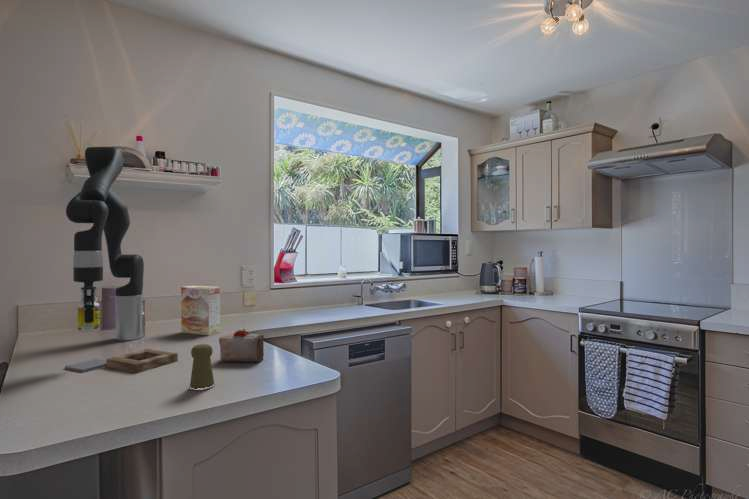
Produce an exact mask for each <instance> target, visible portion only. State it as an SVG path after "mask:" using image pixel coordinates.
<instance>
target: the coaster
mask: <svg viewBox="0 0 749 499" xmlns="http://www.w3.org/2000/svg"><path fill="white" fill-rule="evenodd" d="M105 367H106V359H105V360H104V359H100V358H99V359H98V358H94V359H93V358H91V359H89V360H85V361H81V362H75V363H72V364H67V365H65V366H64V369H66V370H70V371H74V372H79V373H87V372H91V371H93V370H97V369H101V368H105ZM106 368H107V367H106ZM90 370H91V371H90ZM86 371H87V372H86Z"/></svg>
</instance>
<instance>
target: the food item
mask: <svg viewBox="0 0 749 499" xmlns="http://www.w3.org/2000/svg"><path fill="white" fill-rule="evenodd" d="M264 338H265V337H264V334H261V333H249V331H247V330H245V328H243V329H242V330H241V329H239V330H237V331H236V330H235V333H230V334H223V335H221V336H220V337H219V339H218V342H219V347H220V358H219V359H220V363H260V362H261V361H262V360H261V359H264V358H263V357H264V356H265V355H264V353H265V352H264V348H265V347H264V345H265V344H264V342H265V341H264V340H265V339H264ZM259 361H260V362H259Z"/></svg>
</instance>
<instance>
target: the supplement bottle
mask: <svg viewBox="0 0 749 499" xmlns="http://www.w3.org/2000/svg"><path fill="white" fill-rule="evenodd" d="M97 301H98V300H97V299H96V301H95V303H94V305H95V307H94V310H93V319H94V321H93V322H92V323H85V310H84V303H82V297H80V304H79V303H78V305H77V332H79V333H91V332H97V331H99V330H100V325H101V324H100V322H101V320H100V316H101V314H100V313H101V312H100V308H101V307H100V303H99V302H97ZM90 304H92V303H86V305H90Z"/></svg>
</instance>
